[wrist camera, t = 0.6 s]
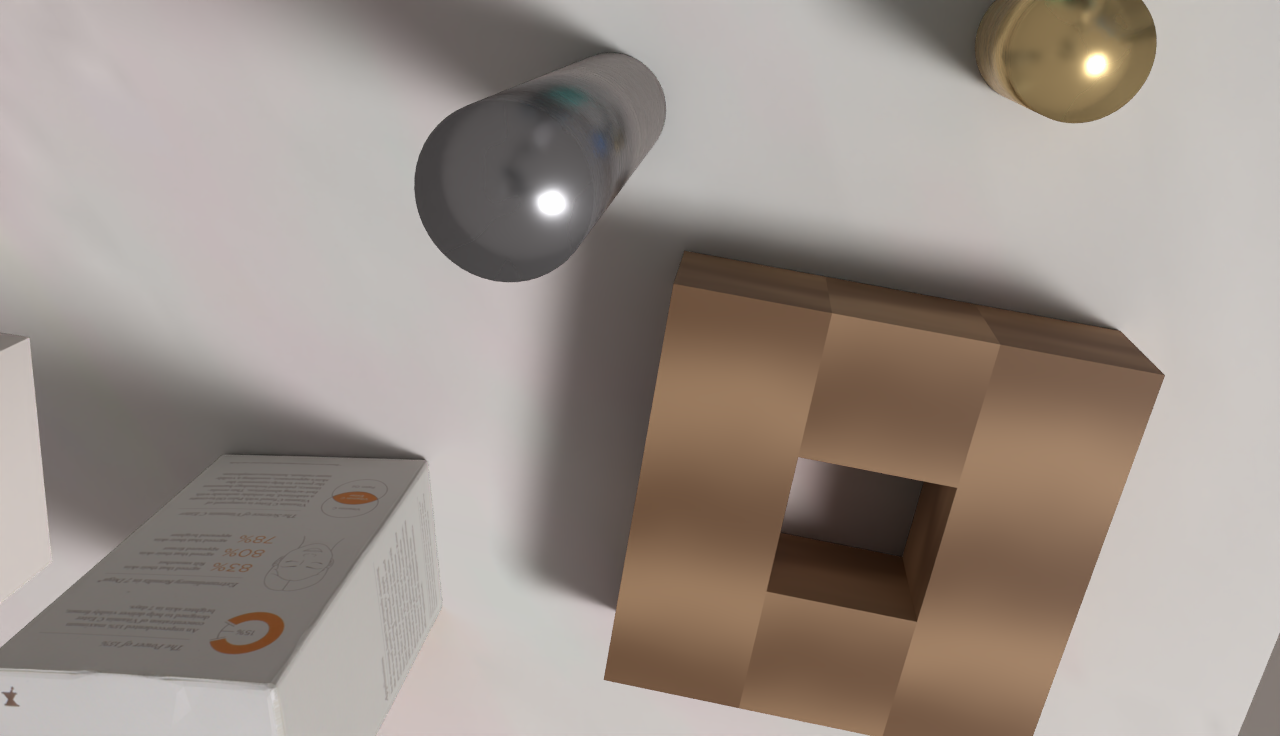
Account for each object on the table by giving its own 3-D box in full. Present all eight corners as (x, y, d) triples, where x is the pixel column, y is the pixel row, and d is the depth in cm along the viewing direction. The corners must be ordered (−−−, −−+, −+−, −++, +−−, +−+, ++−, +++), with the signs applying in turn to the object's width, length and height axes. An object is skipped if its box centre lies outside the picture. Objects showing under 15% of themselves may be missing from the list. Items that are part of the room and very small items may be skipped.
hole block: (684, 250, 34) (673, 283, 30) (1120, 331, 33) (1164, 375, 29) (620, 612, 39) (603, 679, 35) (997, 690, 38) (1021, 766, 34)
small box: (247, 598, 41) (22, 860, 28) (220, 449, 38) (-35, 665, 26) (449, 608, 40) (306, 884, 27) (434, 456, 37) (271, 683, 25)
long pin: (565, 43, 32) (421, 85, 19) (674, 62, 32) (605, 117, 19) (551, 154, 33) (408, 264, 20) (656, 173, 33) (580, 297, 20)
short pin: (993, -29, 30) (1034, -32, 25) (1112, -10, 30) (1176, -9, 25) (961, 91, 31) (995, 110, 26) (1076, 111, 31) (1130, 134, 26)
